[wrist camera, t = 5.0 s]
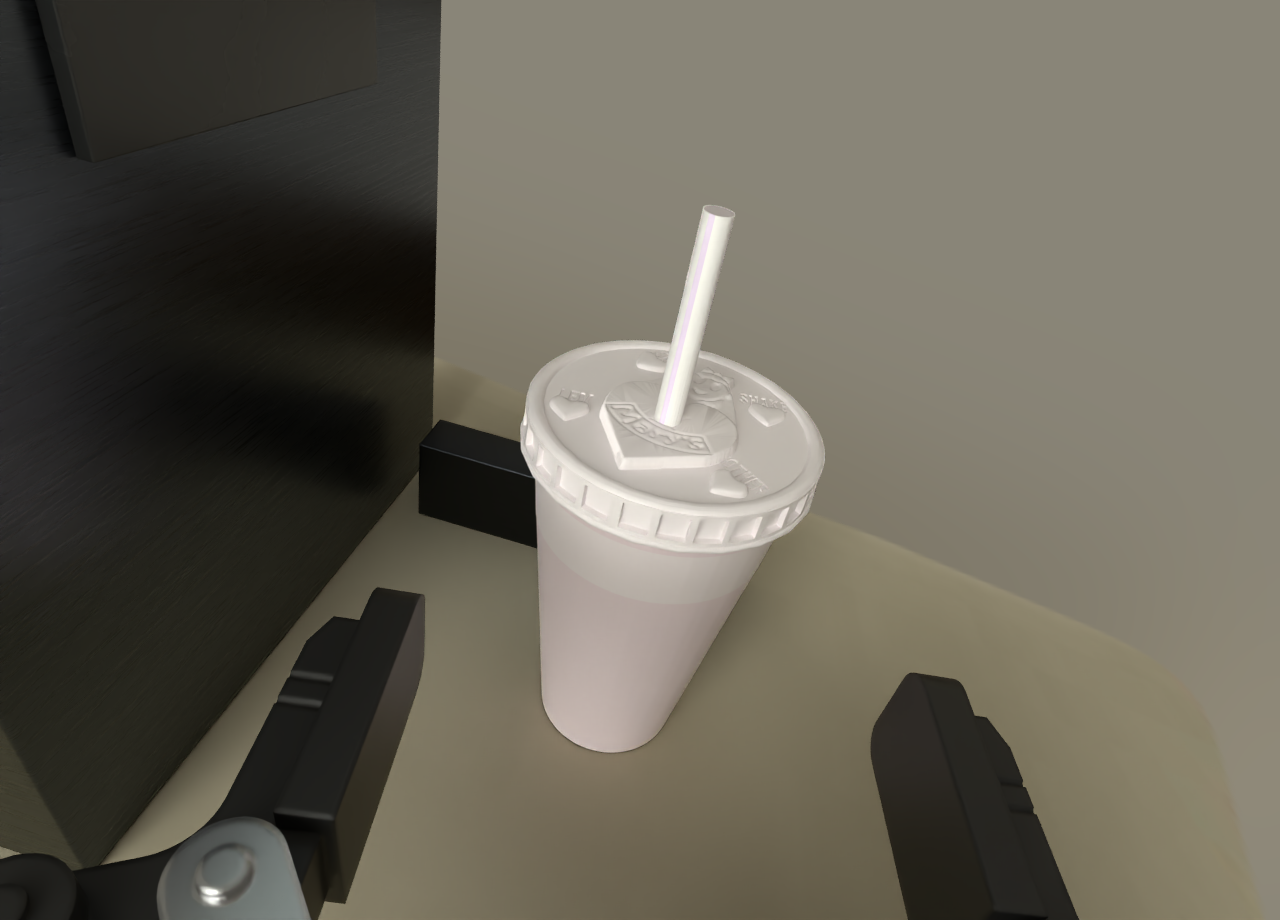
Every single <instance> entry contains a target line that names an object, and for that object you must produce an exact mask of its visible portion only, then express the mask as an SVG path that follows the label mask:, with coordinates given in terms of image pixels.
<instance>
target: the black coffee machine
mask: <svg viewBox="0 0 1280 920" xmlns="http://www.w3.org/2000/svg"><path fill="white" fill-rule="evenodd" d="M440 33H441V0H0V846H1V847H4V848H7V849H10V850H13V851H16V852H19V853H22V854H25V853H41V854H48V855H51V856H54V857H56V858H59V859H60V860H62V861H63V862H64V863H66V864H67V866H68V867H69V868H70V869H71V870H72V871H74V870H79V869H84V868H89V867H94V866H98V865H99V864H100V862H101V861H102V860H103V859H104V858H105V856H106V855H107V854H108V853H109V851H110V850H111V849H112V848H113V846H114V845H115V844H116V843H117V841H118V840H119V839H120V838H121V837H122V835H123V834H124V833H125V832H126V830H127V829H128V828H129V827H130V825H131V824H132V823H133V822H134V820H135V819H136V818H137V817H138V816H139V814H140V813H141V812H142V811H143V809H144V808H145V807H146V806H147V804H148V803H149V802H150V801H151V799H152V798H153V797H154V796H155V795H156V793H157V792H158V791H159V790H160V788H161V787H162V786H163V785H164V783H165V782H166V781H167V780H168V778H169V777H170V776H171V775H172V774H173V772H174V771H175V770H176V769H177V767H178V766H179V765H180V764H181V762H182V761H183V760H184V759H185V757H186V756H187V755H188V754H189V753H190V751H191V750H192V749H193V748H194V746H195V745H196V744H197V743H198V741H199V740H200V739H201V738H202V736H203V735H204V734H205V733H206V732H207V730H208V729H209V728H210V727H211V725H212V724H213V723H214V722H215V720H216V719H217V718H218V717H219V715H220V714H221V713H222V712H223V711H224V709H225V708H226V707H227V706H228V704H229V703H230V702H231V701H232V699H233V698H234V697H235V696H236V694H237V693H238V692H239V691H240V690H241V688H242V687H243V686H244V685H245V683H246V682H247V681H248V680H249V678H250V677H251V676H252V675H253V673H254V672H255V671H256V670H257V669H258V667H259V666H260V665H261V664H262V662H263V661H264V660H265V659H266V657H267V656H268V655H269V654H270V652H271V651H272V650H273V649H274V648H275V646H276V645H277V644H278V643H279V641H280V640H281V639H282V638H283V636H284V635H285V634H286V633H287V631H288V630H289V629H290V628H291V627H292V625H293V624H294V623H295V622H296V620H297V619H298V618H299V617H300V615H301V614H302V613H303V612H304V610H305V609H306V608H307V607H308V606H309V604H310V603H311V602H312V601H313V599H314V598H315V597H316V596H317V594H318V593H319V592H320V591H321V590H322V588H323V587H324V586H325V585H326V583H327V582H328V581H329V580H330V578H331V577H332V576H333V575H334V573H335V572H336V571H337V570H338V569H339V567H340V566H341V565H342V564H343V562H344V561H345V560H346V559H347V557H348V556H349V555H350V554H351V552H352V551H353V550H354V549H355V548H356V546H357V545H358V544H359V543H360V541H361V540H362V539H363V538H364V536H365V535H366V534H367V533H368V531H369V530H370V529H371V528H372V527H373V525H374V524H375V523H376V522H377V520H378V519H379V518H380V517H381V515H382V514H383V513H384V512H385V510H386V509H387V508H388V507H389V506H390V504H391V503H392V502H393V501H394V499H395V498H396V497H397V496H398V494H399V493H400V492H401V491H402V489H403V488H404V487H405V486H406V485H407V483H408V482H409V481H410V480H411V478H412V477H413V476H414V475H415V473H416V472H417V471H418V470H419V513H420V514H423V515H426V516H430V517H433V518H437V519H440V520H443V521H447V522H450V523H454V524H457V525H460V526H464V527H467V528H470V529H474V530H477V531H481V532H484V533H487V534H491V535H494V536H498V537H501V538H504V539H508V540H511V541H514V542H518V543H521V544H525V545H528V546H531V547H535V548H537V517H536V487H535V478H534V477H533V476H532V474H531V471H530V469H529V467H528V465H527V463H526V460H525V458H524V456H523V454H522V452H521V442H517V441H514V440H510V439H507V438H503V437H500V436H496V435H493V434H489V433H486V432H482V431H479V430H475V429H472V428H468V427H465V426H461V425H458V424H454V423H451V422H447V421H444V420H440V421H439V422H438V423H437V424H436V425H435V426H434V428H433V429H432V424H433V375H434V326H435V275H436V229H437V180H438V177H437V176H438V132H439V131H438V130H439V83H440V81H439V80H440Z"/></svg>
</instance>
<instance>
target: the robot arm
mask: <svg viewBox="0 0 1280 920" xmlns="http://www.w3.org/2000/svg"><path fill="white" fill-rule="evenodd" d="M424 637H425V597H424V595H423V594H417V593H411V592H404V591H398V590H391V589H385V588H376V589H375V590H374V591H373V592H372V594H371V596H370V598H369V600H368V602H367V604H366V607H365V609H364V611H363V613H362V615H361V618H360V620H355V619H349V618H342V617H336V616H334V617H333V618H331V619H330V620H329V621H328V622H327V623H326V624H325V625H324V626H322V627H321V628H320V629H319V630H318V631H317V632H316V633H315V634H314V635H312V636H311V637H310V638H309V639H308V640H307V641H306V643H305V645H304V647H303V649H302V651H301V653H300V655H299V657H298V658H297V660H296V662H295V664H294V666H293V668H292V670H291V674H290V677H289V678H287V680H286V682H285V684H284V686H283V688H282V690H281V692H280V694H279V695H278V700H277V702H276V703H274V705H273V707H272V709H271V711H270V713H269V715H268V717H267V719H266V721H265V723H264V725H263V727H262V729H261V731H260V733H259V734H258V736H257V738H256V740H255V742H254V744H253V746H252V748H251V750H250V752H249V754H248V756H247V758H246V760H245V762H244V764H243V766H242V768H241V770H240V771H239V773H238V775H237V777H236V779H235V781H234V783H233V785H232V787H231V789H230V791H229V793H228V795H227V797H226V799H225V800H224V802H223V803H222V805H221V807H220V808H219V809H218V811H217V812H216V813H215V815H214V816H213V817H212V818H211V819H210V820H209V821H208V822H207V823H206V824H205V825H204V826H203V827H202V828H201V829H199V830H198V831H197V832H196V833H194V834H193V835H192V836H190V837H189V838H187V839H186V840H184V841H182V842H181V843H179V844H177V845H175V846H173V847H171V848H169V849H167V850H164V851H161V852H159V853H156V854H152V855H149V856H145V857H140V858H135V859H130V860H125V861H120V862H115V863H110V864H105V865H99V866H94V867H89V868H84V869H79V870H74V871H72V870H71V869H70V868H69V867H68V866H67V864H66V863H64V862H63V861H62V860H60V859H59V858H56V857H54V856H51V855H48V854H41V853H25V854H19V855H13V856H10V857H7V858H3V859H0V920H318V918H319V915H320V912H321V909H322V907H323V904H324V901H327V902H335V903H343V904H345V903H346V900H347V897H348V894H349V891H350V888H351V885H352V882H353V879H354V876H355V873H356V870H357V867H358V864H359V861H360V858H361V855H362V852H363V849H364V846H365V843H366V840H367V838H368V835H369V832H370V829H371V826H372V823H373V820H374V817H375V814H376V811H377V808H378V805H379V802H380V799H381V796H382V793H383V790H384V787H385V784H386V781H387V778H388V775H389V772H390V769H391V766H392V763H393V760H394V757H395V755H396V752H397V749H398V746H399V743H400V740H401V737H402V734H403V731H404V728H405V725H406V722H407V719H408V716H409V713H410V710H411V707H412V704H413V701H414V698H415V695H416V692H417V689H418V685H419V681H420V677H421V673H422V667H423V661H424ZM871 760H872V765H873V769H874V773H875V778H876V782H877V787H878V791H879V795H880V800H881V804H882V808H883V813H884V817H885V821H886V826H887V830H888V835H889V839H890V843H891V848H892V852H893V856H894V861H895V865H896V869H897V874H898V878H899V883H900V887H901V891H902V896H903V900H904V904H905V909H906V913H907V917H908V920H1079V918H1078V916H1077V914H1076V912H1075V909H1074V907H1073V904H1072V902H1071V899H1070V897H1069V894H1068V892H1067V889H1066V887H1065V884H1064V882H1063V879H1062V877H1061V874H1060V872H1059V869H1058V867H1057V864H1056V862H1055V859H1054V857H1053V854H1052V852H1051V849H1050V847H1049V844H1048V842H1047V839H1046V837H1045V834H1044V832H1043V829H1042V827H1041V824H1040V822H1039V819H1038V817H1037V814H1034V813H1033V808H1034V807H1033V804H1032V802H1031V799H1030V797H1029V794H1028V792H1027V789H1026V787H1023V785H1022V782H1023V779H1022V777H1021V774H1020V772H1019V769H1018V767H1017V764H1016V762H1015V759H1014V757H1013V754H1012V751H1011V749H1010V747H1009V746H1008V745H1007V743H1006V742H1005V741H1004V739H1003V738H1002V737H1001V735H1000V734H999V733H998V732H997V730H996V729H995V728H994V726H993V725H992V724H991V722H990V721H989V720H988V719H987V717H980V716H974V713H973V710H972V707H971V705H970V702H969V699H968V697H967V694H966V691H965V689H964V687H963V686H962V684H961V683H960V682H959V681H957V680H956V679H951V678H945V677H938V676H932V675H925V674H919V673H909V674H908V675H906V676H905V678H904V679H903V681H902V682H901V684H900V685H899V687H898V688H897V690H896V692H895V693H894V695H893V696H892V698H891V699H890V701H889V702H888V704H887V706H886V707H885V709H884V710H883V712H882V713H881V715H880V716H879V718H878V720H877V721H876V723H875V725H874V728H873V731H872V736H871Z"/></svg>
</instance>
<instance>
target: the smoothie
mask: <svg viewBox="0 0 1280 920" xmlns="http://www.w3.org/2000/svg"><path fill="white" fill-rule="evenodd" d="M734 218H735V213H734V212H733V211H731V210H729V209H727V208H724V207H720V206H714V205H706V206H704V207H703V210H702V215H701V218H700V223H699V227H698V231H697V236H696V240H695V244H694V248H693V253H692V257H691V261H690V265H689V270H688V274H687V278H686V282H685V287H684V291H683V295H682V299H681V304H680V308H679V312H678V316H677V321H676V325H675V330H674V334H673V338H672V342H671V343H667V342H658V341H647V340H615V341H608V342H600V343H593V344H590V345H586V346H583V347H579V348H576V349H573V350H571V351H568V352H566V353H564V354H562V355H560V356H558V357H556V358H554V359H553V360H551V361H550V362H548V363H547V364H546V365H545V366H544V367H542V368H541V369H540V370H539V372H538V373H537V374H536V375H535V376H534V378H533V380H532V381H531V383H530V386H529V389H528V392H527V397H526V405H525V414H524V418H523V420H522V422H521V424H520V439H521V452H522V454H523V456H524V458H525V460H526V463H527V465H528V467H529V469H530V471H531V474H532V476H533V477H534V478H535V487H536V517H537V552H538V586H539V621H540V655H541V690H542V701H543V705H544V708H545V711H546V713H547V715H548V717H549V719H550V721H551V722H552V724H553V725H554V726H555V727H556V728H557V730H558V731H559V732H560V733H562V734H563V735H564V736H565V737H566V738H568V739H569V740H571V741H572V742H574V743H576V744H578V745H580V746H582V747H585V748H587V749H590V750H594V751H599V752H608V753H616V752H624V751H629V750H632V749H635V748H638V747H640V746H642V745H644V744H646V743H647V742H649V741H650V740H651V739H652V738H654V737H655V736H656V735H657V734H658V733H659V731H660V730H661V729H662V727H663V726H664V724H665V722H666V721H667V719H668V717H669V715H670V714H671V712H672V710H673V709H674V707H675V705H676V704H677V702H678V700H679V699H680V697H681V695H682V694H683V692H684V690H685V689H686V687H687V685H688V684H689V682H690V680H691V678H692V677H693V675H694V673H695V672H696V670H697V668H698V667H699V665H700V663H701V662H702V660H703V658H704V657H705V655H706V653H707V652H708V650H709V648H710V647H711V645H712V643H713V642H714V640H715V638H716V636H717V635H718V633H719V631H720V630H721V628H722V626H723V625H724V623H725V621H726V620H727V618H728V616H729V615H730V613H731V611H732V610H733V608H734V606H735V605H736V603H737V601H738V600H739V598H740V596H741V594H742V593H743V591H744V589H745V588H746V586H747V584H748V583H749V581H750V579H751V578H752V576H753V574H754V573H755V572H756V570H757V569H758V567H759V565H760V563H761V562H762V560H763V558H764V556H765V555H766V553H767V551H768V549H769V548H770V546H771V544H772V542H773V540H775V539H777V538H780V537H782V536H784V535H786V534H788V533H789V532H790V531H791V530H792V529H793V528H794V527H795V526H796V525H797V524H798V523H799V522H800V521H801V520H802V519H803V518H804V517H805V516H806V515H807V514H808V512H809V509H810V506H811V503H812V500H813V498H814V494H815V492H816V485H817V483H818V480H819V478H820V476H821V474H822V470H823V467H824V462H825V448H824V444H823V440H822V437H821V435H820V432H819V430H818V428H817V426H816V425H815V423H814V421H813V420H812V419H811V417H810V415H809V414H808V413H807V412H806V410H805V409H804V408H803V407H802V406H801V405H800V404H799V403H798V402H797V401H796V399H795V398H793V397H792V396H791V395H790V394H788V393H787V392H786V391H785V390H784V389H782V388H781V387H780V386H778V385H777V384H776V383H774V382H773V381H771V380H769V379H768V378H766V377H765V376H763V375H761V374H760V373H758V372H756V371H754V370H752V369H750V368H748V367H746V366H744V365H742V364H740V363H738V362H736V361H733V360H731V359H728V358H725V357H722V356H720V355H717V354H714V353H711V352H707V351H704V350H700V347H701V344H702V340H703V336H704V332H705V329H706V325H707V321H708V317H709V313H710V310H711V306H712V302H713V298H714V294H715V291H716V287H717V283H718V279H719V275H720V272H721V268H722V264H723V260H724V256H725V252H726V249H727V245H728V241H729V237H730V233H731V230H732V225H733V222H734Z"/></svg>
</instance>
